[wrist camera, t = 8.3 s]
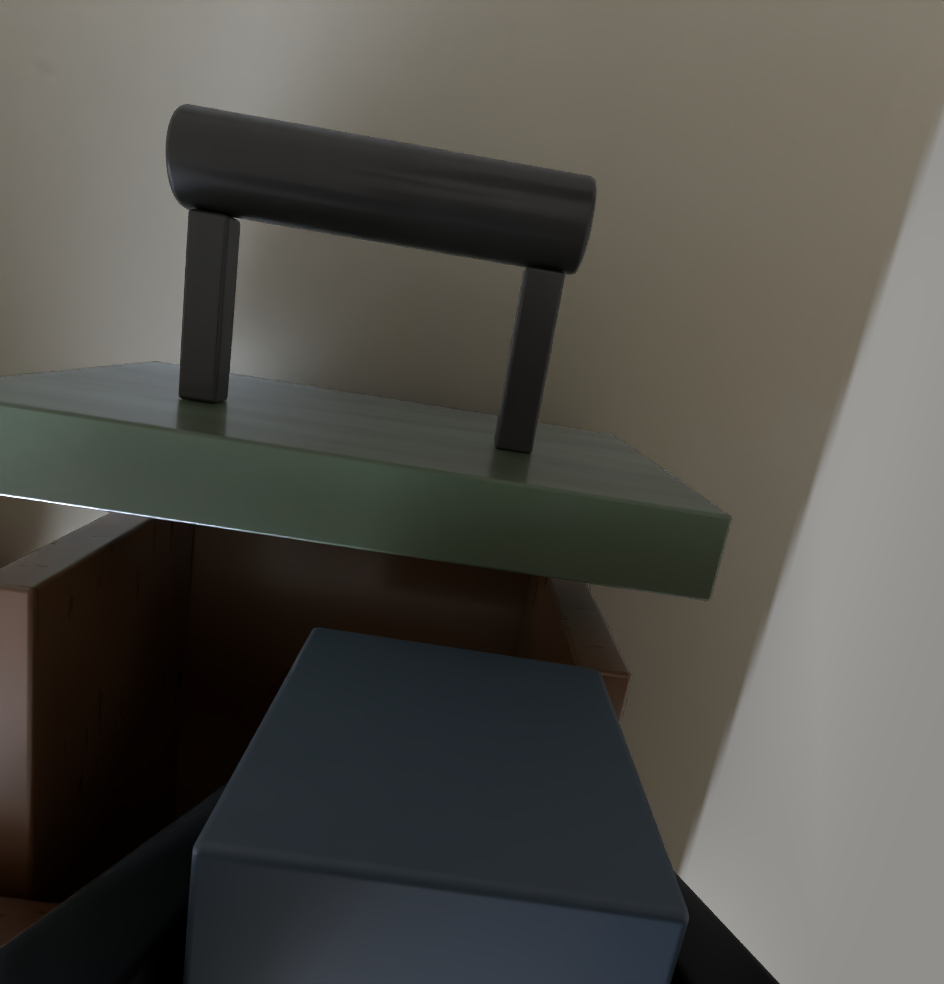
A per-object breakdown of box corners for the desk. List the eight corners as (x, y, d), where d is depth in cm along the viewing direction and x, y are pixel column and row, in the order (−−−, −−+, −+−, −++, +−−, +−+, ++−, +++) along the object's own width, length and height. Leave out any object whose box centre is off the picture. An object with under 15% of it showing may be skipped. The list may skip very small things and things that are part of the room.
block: (600, 666, 9) (694, 917, 5) (547, 902, 10) (592, 1265, 6) (313, 622, 9) (188, 846, 5) (284, 866, 10) (162, 1212, 6)
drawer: (164, 155, 14) (-123, -13, 7) (657, 241, 14) (828, 161, 7) (132, 836, 17) (-72, 1143, 11) (519, 884, 18) (550, 1209, 11)
